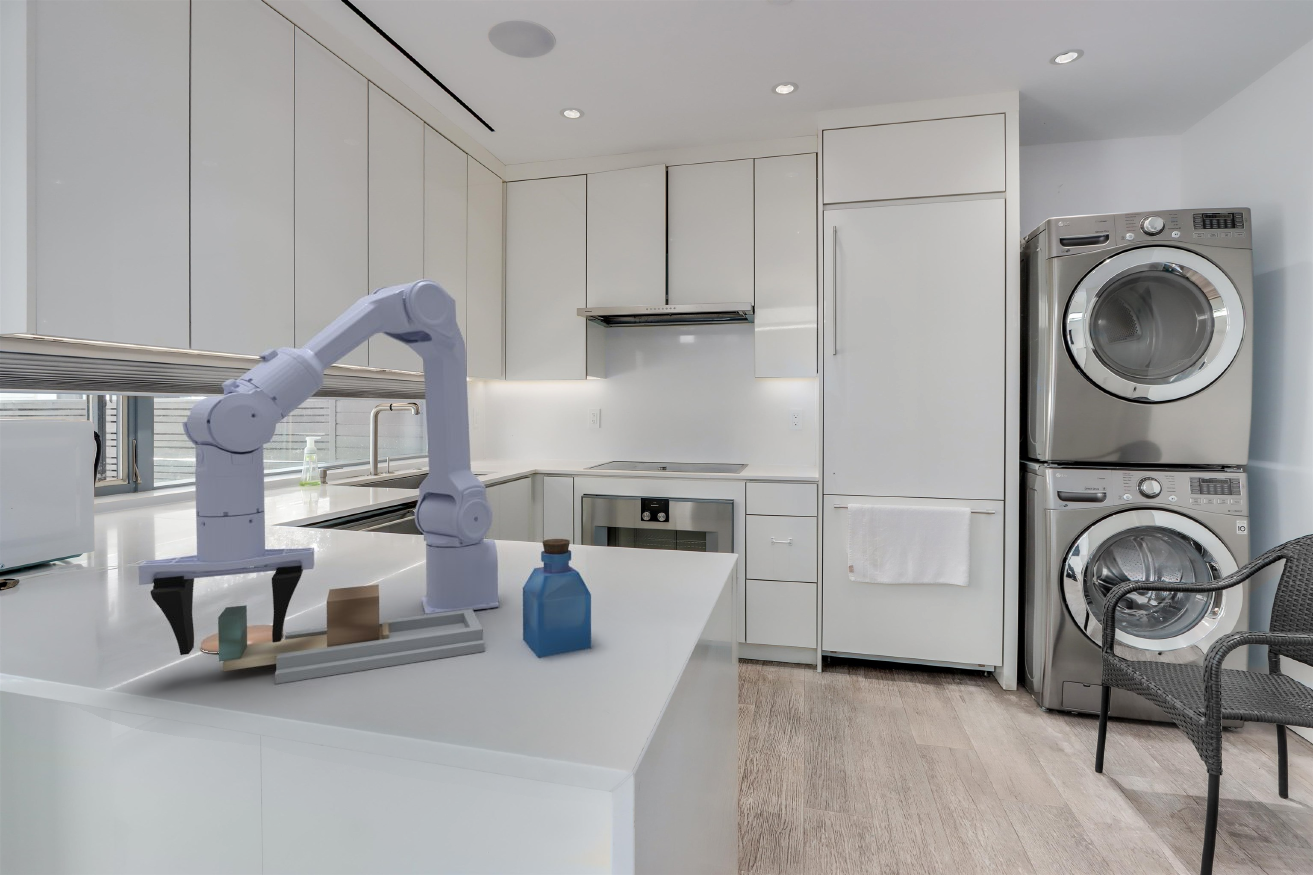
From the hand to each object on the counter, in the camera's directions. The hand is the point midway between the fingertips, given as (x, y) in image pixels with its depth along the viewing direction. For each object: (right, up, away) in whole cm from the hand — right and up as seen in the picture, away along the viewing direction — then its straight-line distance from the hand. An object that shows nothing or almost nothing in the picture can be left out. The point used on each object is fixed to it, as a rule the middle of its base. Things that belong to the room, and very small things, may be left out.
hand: (233, 644), depth 62 cm
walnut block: (+10, -1, +5) cm, 11 cm away
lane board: (+13, -3, +6) cm, 14 cm away
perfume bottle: (+32, -3, +8) cm, 33 cm away
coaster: (-5, -3, +9) cm, 10 cm away
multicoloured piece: (+6, -2, +3) cm, 7 cm away
